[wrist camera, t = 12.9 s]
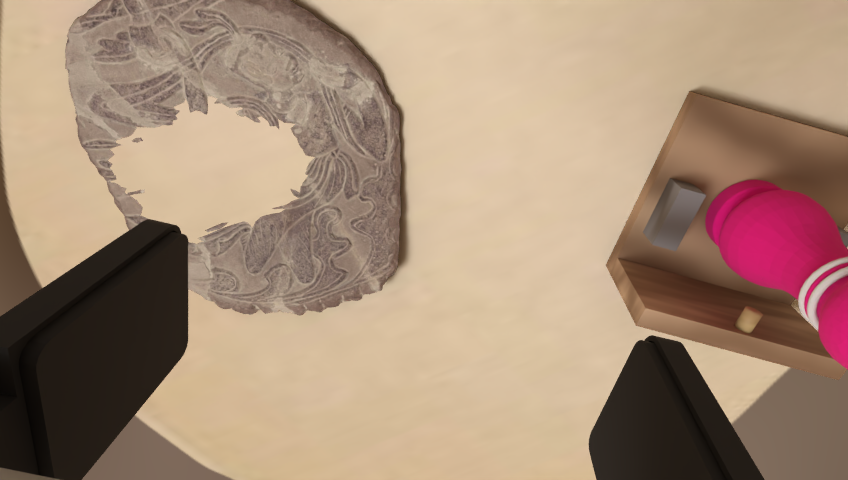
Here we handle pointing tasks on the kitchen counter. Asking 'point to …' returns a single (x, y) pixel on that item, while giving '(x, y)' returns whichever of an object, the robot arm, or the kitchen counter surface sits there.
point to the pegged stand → (700, 257)
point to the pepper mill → (786, 252)
